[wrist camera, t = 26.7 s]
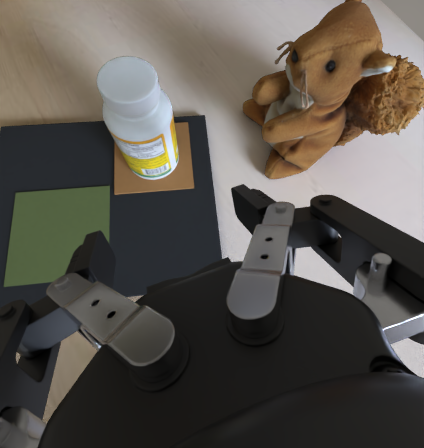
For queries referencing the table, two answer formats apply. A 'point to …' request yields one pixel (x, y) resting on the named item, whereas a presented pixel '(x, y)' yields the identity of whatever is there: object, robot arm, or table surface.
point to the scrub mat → (101, 207)
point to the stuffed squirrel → (333, 91)
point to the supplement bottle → (139, 116)
